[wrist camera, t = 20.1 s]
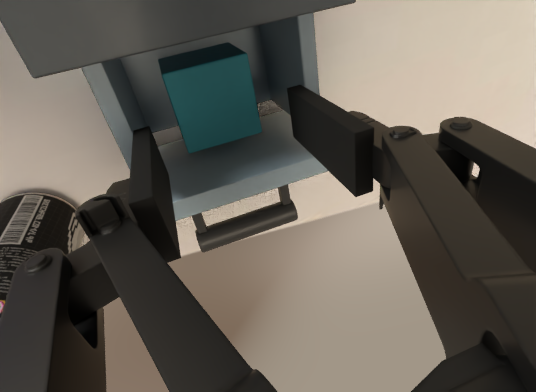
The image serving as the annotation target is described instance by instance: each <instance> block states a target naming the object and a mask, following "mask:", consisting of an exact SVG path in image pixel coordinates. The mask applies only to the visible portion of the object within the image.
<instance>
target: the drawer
mask: <svg viewBox="0 0 536 392" xmlns="http://www.w3.org/2000/svg"><path fill="white" fill-rule="evenodd" d="M227 42H229V43H231V44H232V45H234V46H236V47H237V48H239V49H241V50H242V51H244V52H246V53H247V55H248V60H249V65H250V70H251V76H252V81H253V86H254V91H255V96H256V102H257V104H258V103H261V102H265V101H268V100H272V101H273V102H275V103H276V104H277V105H278V106H279V107H281V108H282V109H283V111H280V112H276V113H273V114H269V115H266V116H262V117H260V123H261V128H262V132H261V133H258V134H254V135H251V136H248V137H244V138H241V139H237V140H234V141H231V142H227V143H224V144H221V145H217V146H214V147H210V148H207V149H204V150H200V151H197V152H193V153H188V151H187V148H186V145H185V142H184V139H182V140H178V141H175V142H171V143H168V144H164V145H161V146H158V149H159V151H160V154H161V156H162V159H163V161H164V164H165V166H166V169H167V171H168V174H169V179H170V186H171V193H172V200H173V207H174V214H175V221H177V220H180V219H183V218H186V217H189V216H192V218H193V220H194V223H195V226H196V228H197V230H196V231H195V233H196V237H197V240H198V243H199V246H200V249H201V251H202V252H206V251H209V250H212V249H214V248H218V247H220V246H223V245H226V244H229V243H232V242H235V241H238V240H240V239H243V238H246V237H249V236H252V235H255V234H258V233H261V232H263V231H266V230H269V229H272V228H275V227H278V226H281V225H283V224H286V223H289V222H292V221H295V220H297V219H298V215H297V210H296V207H295V205H294V203H293V201H292V200H291V199H290V194H289V188H288V184H290V183H293V182H296V181H299V180H302V179H305V178H308V177H311V176H314V175H317V174H320V173H324V172H327V171H328V170H327V169H326V168H325V167H324V166H323V165H322V164H321V163H320V162H319V161H318V160H317V159H316V158H315V157H314V156H313V155H312V154H310V153H309V152H308V151H307V150H306V149H305V148H304V147H303V146H302V145H301V144H300V143H299V142H298V141H297V140H296V139H295V138H294V137H293V131H292V123H291V116H290V108H289V101H288V93H287V88H289V87H293V86H297V85H302V86H304V87H306V88H308V89H309V90H311V91H313V92H314V93H316V94H318V95H320V94H319V81H318V68H317V55H316V42H315V29H314V16H313V13H309V14H305V15H301V16H297V17H292V18H288V19H284V20H280V21H276V22H271V23H267V24H263V25H259V26H254V27H250V28H246V29H242V30H238V31H233V32H229V33H225V34H221V35H216V36H212V37H208V38H204V39H200V40H195V41H191V42H187V43H183V44H179V45H174V46H170V47H166V48H162V49H157V50H153V51H149V52H145V53H141V54H136V55H132V56H128V57H124V58H119V59H115V60H111V61H107V62H103V63H98V64H94V65H90V66H86V67H81V68H82V70H83V72H84V75H85V77H86V79H87V81H88V83H89V85H90V87H91V89H92V91H93V93H94V96H95V98H96V100H97V102H98V104H99V106H100V108H101V110H102V112H103V114H104V117H105V119H106V121H107V123H108V125H109V127H110V129H111V131H112V133H113V135H114V138H115V140H116V142H117V144H118V146H119V148H120V150H121V152H122V154H123V156H124V159H125V161H126V163H127V165H128V167H129V169H130V170H131V155H132V140H133V130H137V129H140V128H144V127H147V126H150V129H151V131H152V133H154V132H157V131H161V130H164V129H168V128H171V127H175V126H179V125H178V122H177V119H176V116H175V113H174V111H173V108H172V105H171V102H170V99H169V96H168V93H167V90H166V87H165V84H164V82H163V79H162V76H161V71H160V67H159V63H158V59H161V58H165V57H169V56H173V55H177V54H181V53H185V52H190V51H194V50H198V49H202V48H206V47H210V46H214V45H219V44H223V43H227ZM275 188H278V191H279V196H280V201H281V202H278V203H275V204H272V205H269V206H266V207H263V208H260V209H257V210H254V211H251V212H248V213H245V214H242V215H239V216H237V217H234V218H231V219H228V220H225V221H222V222H219V223H216V224H213V225H210V226H207V227H206V225H205V222H204V219H203V216H202V214H201V212H205V211H208V210H211V209H214V208H217V207H220V206H223V205H226V204H229V203H232V202H235V201H238V200H241V199H244V198H247V197H250V196H253V195H256V194H259V193H262V192H266V191H269V190H272V189H275Z"/></svg>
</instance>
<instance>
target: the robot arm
mask: <svg viewBox="0 0 536 392" xmlns="http://www.w3.org/2000/svg"><path fill="white" fill-rule="evenodd" d="M287 93H288V101H289V108H290V116H291V123H292V131H293V137H294V138H295V139H296V140H297V141H298V142H299V143H300V144H301V145H302V146H303V147H304V148H305V149H306V150H307V151H308V152H309V153H310V154H312V155H313V156H314V157H315V158H316V159H317V160H318V161H319V162H320V163H321V164H322V165H323V166H324V167H325V168H326V169H327V170H328V171H329V172H330V173H331V174H332V175H333V176H334V177H335V178H337V179H338V180H339V181H340V182H341V183H342V184H343V185H344V186H345V187H346V188H347V189H348V190H349V191H350V192H351V193H352V194H353V195H354V196H355V197H357V196H360V195H363V194H366V193H369V192H372V191H373V178H374V179H375V180H376V181H378V182H379V183H380V201H379V208H380V209H382V208H383V207H382V206H383V204H385V207H386V209H387V212H388V214H389V216H390V218H391V221H392V224H393V226H394V228H395V231H396V233H397V235H398V238H399V240H400V243H401V245H402V247H403V250H404V252H405V255H406V257H407V260H408V262H409V264H410V267H411V269H412V272H413V274H414V276H415V279H416V281H417V283H418V286H419V288H420V291H421V293H422V296H423V298H424V300H425V303H426V305H427V308H428V310H429V312H430V315H431V317H432V320H433V322H434V324H435V327H436V329H437V332H438V334H439V336H440V339H441V341H442V344H443V346H444V350H445V354H446V360H443V361H442V362H441V363H440V364H439V365H438V366H437V367H436V368H435V369H434V370H433V371H432V372H431V373H429V375H428V376H427V377H426V378H425V379H424V380H422V381H421V382H420V383H419V384H418V386H416V387H415V388H414V389H413V390H412V391H411V392H536V149H535V148H533V147H531V146H529V145H527V144H525V143H523V142H521V141H518V140H516V139H514V138H512V137H510V136H508V135H506V134H504V133H502V132H500V131H498V130H496V129H494V128H492V127H489V126H487V125H485V124H483V123H481V122H479V121H477V120H474V119H470V118H466V117H460V118H459V117H454V118H450V119H446V120H444V121H442V122H441V123H440V129H439V133H434V134H427V135H422V134H421V132H420V131H419V130H417V129H416V128H413V127H409V126H395V127H390V128H389V127H387V126H385V125H383V124H382V123H380V122H378V121H375V120H374V119H372V118H370V117H369V116H367V115H365V114H363V113H360V112H355V111H350V112H347V111H345V110H343V109H342V108H340V107H338V106H337V105H335V104H333V103H332V102H330V101H328V100H326V99H325V98H323V97H321V96H320V95H318V94H316V93H314V92H313V91H311V90H309V89H308V88H306V87H304V86H302V85H297V86H293V87H289V88H287ZM474 163H476V164H477V165H478V166H479V168H480V171H479V175H478V177H475V176H473V175H472V169H473V165H474ZM75 217H76V219H77V220H78V222H79V224H80V225H81V227H82V228H83V230H84V231H85V233H86V234H87V236H88V237H89V239H90V241H89V242H88V243H87V244H85V245H83V246H82V247H80V248H78V249H76V250H74V251H72V252H71V253H69V254H67V255H65V254H64V253H63V251H62V250H60V249H58V248H48V249H44V250H41V251H39V252H37V253H34V254H32V255H30V256H29V257H27V258H26V259H25V260H24V261H23V262H22V263H21V264H20V265H19V266H18V267H17V268H16V270H15V272H14V274H13V277H12V280H11V284H10V287H9V290H8V294H7V297H6V301H5V304H4V308H3V311H2V314H1V318H0V392H106V367H105V338H104V309H103V307H104V306H105V305H107V304H108V303H110V302H112V301H113V300H115V299H117V298H118V297H120V298H121V300H122V302H123V304H124V306H125V308H126V310H127V312H128V313H129V315H130V317H131V319H132V321H133V323H134V325H135V327H136V329H137V331H138V333H139V335H140V336H141V338H142V340H143V342H144V344H145V346H146V348H147V350H148V352H149V354H150V356H151V357H152V359H153V361H154V363H155V365H156V367H157V369H158V371H159V373H160V375H161V377H162V378H163V380H164V382H165V384H166V386H167V388H168V390H169V392H277V391H276V389H275V388H274V387H273V386H272V385H271V384H270V382H269V381H268V380H267V379H266V378H265V377H264V375H263V374H262V373H261V372H259V371H258V370H256V369H255V370H253V369H252V368H251V367H250V366H249V365H248V364H247V363H246V361H245V360H244V359H243V358H242V356H241V355H240V354H239V353H238V351H237V350H236V349H235V348H234V346H233V345H232V344H231V343H230V341H229V340H228V339H227V338H226V336H225V335H224V334H223V332H222V331H221V330H220V329H219V328H218V326H217V325H216V324H215V322H214V321H213V320H212V319H211V318H210V316H209V315H208V314H207V312H206V311H205V310H204V309H203V308H202V306H201V305H200V304H199V302H198V301H197V300H196V299H195V297H194V296H193V295H192V294H191V292H190V291H189V290H188V289H187V288H186V286H185V285H184V284H183V282H182V281H181V280H180V279H179V277H178V276H177V275H176V274H175V273H174V271H173V270H172V269H171V267H170V266H169V265H168V264H167V263H168V262H171V261H173V260H176V259H179V258H181V256H180V249H179V242H178V235H177V228H176V221H175V214H174V207H173V200H172V193H171V186H170V179H169V174H168V171H167V169H166V166H165V164H164V161H163V159H162V156H161V154H160V151H159V149H158V146H157V144H156V141H155V139H154V136H153V134H152V131H151V129H150V126H147V127H144V128H140V129H137V130H133V140H132V155H131V170H130V178H129V179H125V180H122V181H119V182H115V183H113V184H112V185H111V187H110V188H109V189H108V190H107V193H106V194H103V195H99V196H97V197H94V198H92V199H90V200H88V201H86V202H85V203H83V204H82V205H81V206H80V207H79V208H78V209H77V211H76V212H75Z"/></svg>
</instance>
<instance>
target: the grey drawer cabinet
mask: <svg viewBox="0 0 536 392" xmlns="http://www.w3.org/2000/svg"><path fill="white" fill-rule="evenodd" d="M355 1H356V0H0V21H1V23H2V25H3V26H4V28H5V30H6V32H7V34H8V35H9V37H10V39H11V41H12V42H13V44H14V46H15V48H16V49H17V51H18V53H19V55H20V56H21V58H22V60H23V62H24V63H25V65H26V67H27V69H28V70H29V72H30V74H31V76H32V77H33V78H39V77H43V76H48V75H52V74H56V73H60V72H65V71H69V70H73V69H77V68H81V67H86V66H90V65H94V64H98V63H103V62H107V61H111V60H115V59H119V58H124V57H128V56H132V55H136V54H141V53H145V52H149V51H153V50H157V49H162V48H166V47H170V46H174V45H179V44H183V43H187V42H191V41H195V40H200V39H204V38H208V37H212V36H216V35H221V34H225V33H229V32H233V31H238V30H242V29H246V28H250V27H254V26H259V25H263V24H267V23H271V22H276V21H280V20H284V19H288V18H292V17H297V16H301V15H305V14H309V13H314V12H318V11H322V10H326V9H330V8H335V7H339V6H343V5H347V4H352V3H354V2H355Z"/></svg>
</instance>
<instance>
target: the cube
mask: <svg viewBox="0 0 536 392" xmlns="http://www.w3.org/2000/svg"><path fill="white" fill-rule="evenodd" d="M158 63H159V67H160V71H161V76H162V79H163V82H164V84H165V87H166V90H167V93H168V96H169V99H170V102H171V105H172V108H173V111H174V113H175V116H176V119H177V122H178V125H179V128H180V131H181V134H182V137H183V139H184V142H185V145H186V148H187V151H188V153H193V152H197V151H200V150H204V149H207V148H210V147H214V146H217V145H221V144H224V143H227V142H231V141H234V140H237V139H241V138H244V137H248V136H251V135H254V134H258V133H261V132H262V128H261V123H260V117H259V112H258V107H257V102H256V96H255V91H254V86H253V81H252V76H251V70H250V65H249V60H248V55H247V53H246V52H244V51H242V50H241V49H239V48H237V47H236V46H234V45H232V44H231V43H229V42H227V43H223V44H219V45H214V46H210V47H206V48H202V49H198V50H194V51H190V52H185V53H181V54H177V55H173V56H169V57H165V58H161V59H158Z"/></svg>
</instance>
